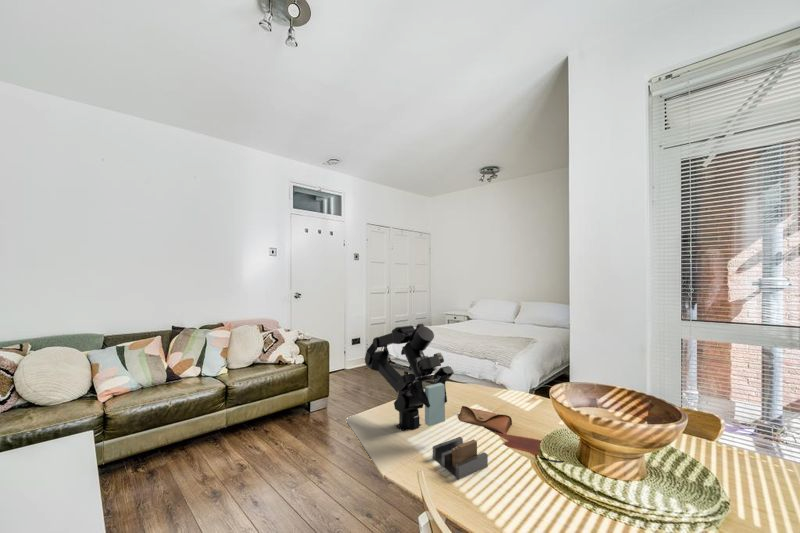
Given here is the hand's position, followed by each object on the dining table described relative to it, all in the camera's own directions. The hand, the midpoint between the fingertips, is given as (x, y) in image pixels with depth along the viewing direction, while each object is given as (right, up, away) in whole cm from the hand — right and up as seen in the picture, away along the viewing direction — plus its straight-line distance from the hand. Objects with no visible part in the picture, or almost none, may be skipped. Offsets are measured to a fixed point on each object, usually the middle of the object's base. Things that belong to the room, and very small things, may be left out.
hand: (437, 404), depth 95 cm
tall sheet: (-1, -6, +1) cm, 6 cm away
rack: (+5, -13, -8) cm, 16 cm away
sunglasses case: (+17, -14, +15) cm, 27 cm away
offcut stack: (+6, -12, -10) cm, 17 cm away
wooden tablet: (+24, -14, +2) cm, 27 cm away
